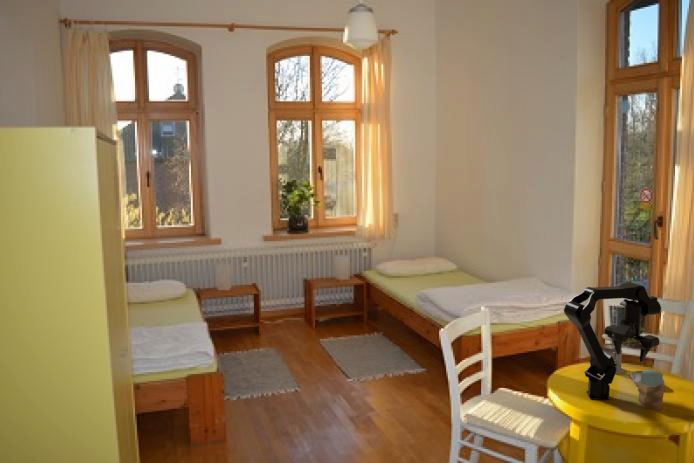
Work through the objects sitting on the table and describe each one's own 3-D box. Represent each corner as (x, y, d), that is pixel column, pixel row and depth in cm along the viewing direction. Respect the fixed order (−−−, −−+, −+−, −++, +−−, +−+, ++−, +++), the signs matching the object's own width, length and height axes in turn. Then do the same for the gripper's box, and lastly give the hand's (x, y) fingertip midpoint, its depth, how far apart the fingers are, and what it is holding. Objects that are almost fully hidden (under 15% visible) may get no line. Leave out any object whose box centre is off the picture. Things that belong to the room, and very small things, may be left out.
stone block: (640, 395, 234) (667, 390, 233) (639, 383, 233) (665, 377, 233) (627, 383, 245) (652, 378, 245) (625, 372, 245) (650, 367, 244)
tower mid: (646, 398, 217) (646, 387, 217) (637, 390, 223) (638, 380, 223) (663, 397, 217) (664, 386, 217) (654, 390, 223) (655, 380, 223)
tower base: (643, 408, 218) (644, 397, 218) (638, 400, 224) (639, 390, 224) (661, 409, 218) (662, 398, 217) (656, 401, 223) (656, 391, 223)
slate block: (640, 382, 220) (641, 372, 220) (648, 379, 223) (649, 369, 222) (654, 387, 216) (654, 376, 216) (662, 384, 219) (663, 373, 218)
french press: (617, 364, 259) (621, 306, 255) (630, 375, 247) (634, 314, 243) (593, 364, 259) (597, 306, 255) (605, 375, 247) (609, 314, 243)
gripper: (596, 314, 231) (593, 354, 234) (643, 327, 216) (640, 370, 218) (614, 309, 237) (612, 349, 240) (661, 322, 222) (658, 364, 224)
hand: (629, 357), depth 230 cm, fingers open, 9 cm apart
